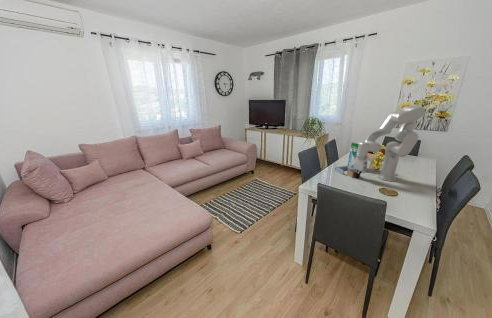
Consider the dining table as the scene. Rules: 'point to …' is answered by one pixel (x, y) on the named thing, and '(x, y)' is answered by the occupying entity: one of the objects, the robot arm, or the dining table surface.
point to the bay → (341, 168)
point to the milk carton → (353, 154)
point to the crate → (351, 173)
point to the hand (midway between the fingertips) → (357, 177)
